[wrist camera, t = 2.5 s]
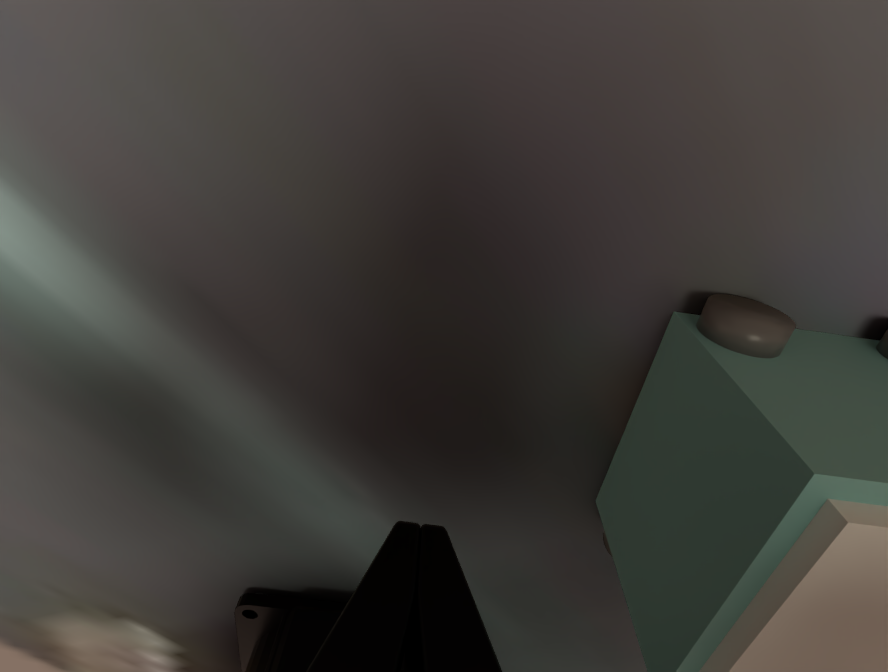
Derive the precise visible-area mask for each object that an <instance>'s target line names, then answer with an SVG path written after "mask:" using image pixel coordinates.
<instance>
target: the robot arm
mask: <svg viewBox="0 0 888 672" xmlns="http://www.w3.org/2000/svg"><path fill="white" fill-rule="evenodd" d="M234 613H235V621H236V630H237V638H238V646H239V655H240V663H241V671H242V672H502V670H501V667H500V665H499V662H498V660H497V657H496V654H495V652H494V649H493V647H492V644H491V642H490V639H489V637H488V634H487V632H486V629H485V627H484V624H483V622H482V619H481V616H480V614H479V611H478V609H477V606H476V604H475V601H474V599H473V596H472V594H471V591H470V589H469V586H468V584H467V581H466V579H465V576H464V573H463V571H462V568H461V566H460V563H459V561H458V558H457V556H456V553H455V551H454V548H453V546H452V543H451V541H450V538H449V535H448V533H447V531H446V529H445V528H444V527H443V526H437V525H429V524H424V525H422V526H421V528H420V525H419V524H418V523H413V522H404V521H398V522H397V523H396V524H395V525H394V526H393V528H392V530H391V531H390V533H389V535H388V536H387V538H386V540H385V541H384V543H383V545H382V546H381V548H380V550H379V551H378V553H377V555H376V556H375V558H374V560H373V561H372V563H371V565H370V566H369V568H368V570H367V571H366V573H365V575H364V576H363V578H362V580H361V581H360V583H359V585H358V586H357V588H356V590H355V591H354V593H353V595H352V596H351V598H350V600H349V601H348V603H347V604H343V603H334V602H326V601H317V600H308V599H299V598H291V597H282V596H273V595H265V594H256V593H247V594H244V595H242V596H241V597H240V599H239V601H238V604H237V606H236V609H235V612H234Z"/></svg>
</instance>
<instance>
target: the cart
mask: <svg viewBox="0 0 888 672" xmlns="http://www.w3.org/2000/svg"><path fill="white" fill-rule="evenodd" d="M795 327H796V324H795V322H794V321H793V320H792V319H791V318H790V317H788V316H787V315H786V314H784V313H782V312H781V311H779V310H777V309H775V308H773V307H770V306H768V305H766V304H763V303H760V302H757V301H754V300H751V299H748V298H744V297H740V296H734V295H727V294H715V295H711V296H709V297H708V299H707V301H706V304H705V306H704V308H703V310H702V313H701V315H695V314H688V313H681V312H673V314H672V317H671V319H670V322H669V324H668V326H667V329H666V331H665V334H664V336H663V339H662V341H661V343H660V346H659V348H658V351H657V353H656V356H655V358H654V360H653V363H652V365H651V368H650V370H649V372H648V375H647V377H646V380H645V382H644V385H643V387H642V389H641V392H640V394H639V397H638V399H637V401H636V404H635V406H634V409H633V411H632V414H631V416H630V418H629V421H628V423H627V426H626V428H625V431H624V433H623V435H622V438H621V440H620V443H619V445H618V447H617V450H616V452H615V455H614V457H613V460H612V462H611V464H610V467H609V469H608V472H607V474H606V477H605V479H604V481H603V484H602V486H601V489H600V491H599V493H598V496H597V498H596V501H595V502H596V505H597V508H598V511H599V515H600V518H601V521H602V524H603V528H604V533H603V541H604V544H605V547H606V549H607V551H608V552H609V554H610V555H611V556H612V557H613V560H614V563H615V567H616V570H617V573H618V576H619V580H620V583H621V586H622V590H623V593H624V596H625V599H626V603H627V606H628V609H629V612H630V616H631V619H632V622H633V625H634V629H635V632H636V635H637V638H638V642H639V645H640V648H641V651H642V655H643V658H644V661H645V664H646V668H647V671H648V672H888V329H887V331H886V332H885V334H884V335H883V337H882V338H881V340H880V341H879V340H872V339H865V338H858V337H851V336H844V335H837V334H829V333H822V332H815V331H808V330H801V329H795Z"/></svg>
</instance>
